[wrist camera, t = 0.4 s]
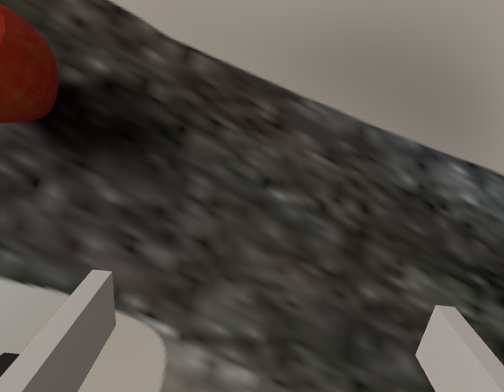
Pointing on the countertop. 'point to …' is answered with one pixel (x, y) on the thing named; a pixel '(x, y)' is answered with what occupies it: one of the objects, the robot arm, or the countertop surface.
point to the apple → (24, 71)
